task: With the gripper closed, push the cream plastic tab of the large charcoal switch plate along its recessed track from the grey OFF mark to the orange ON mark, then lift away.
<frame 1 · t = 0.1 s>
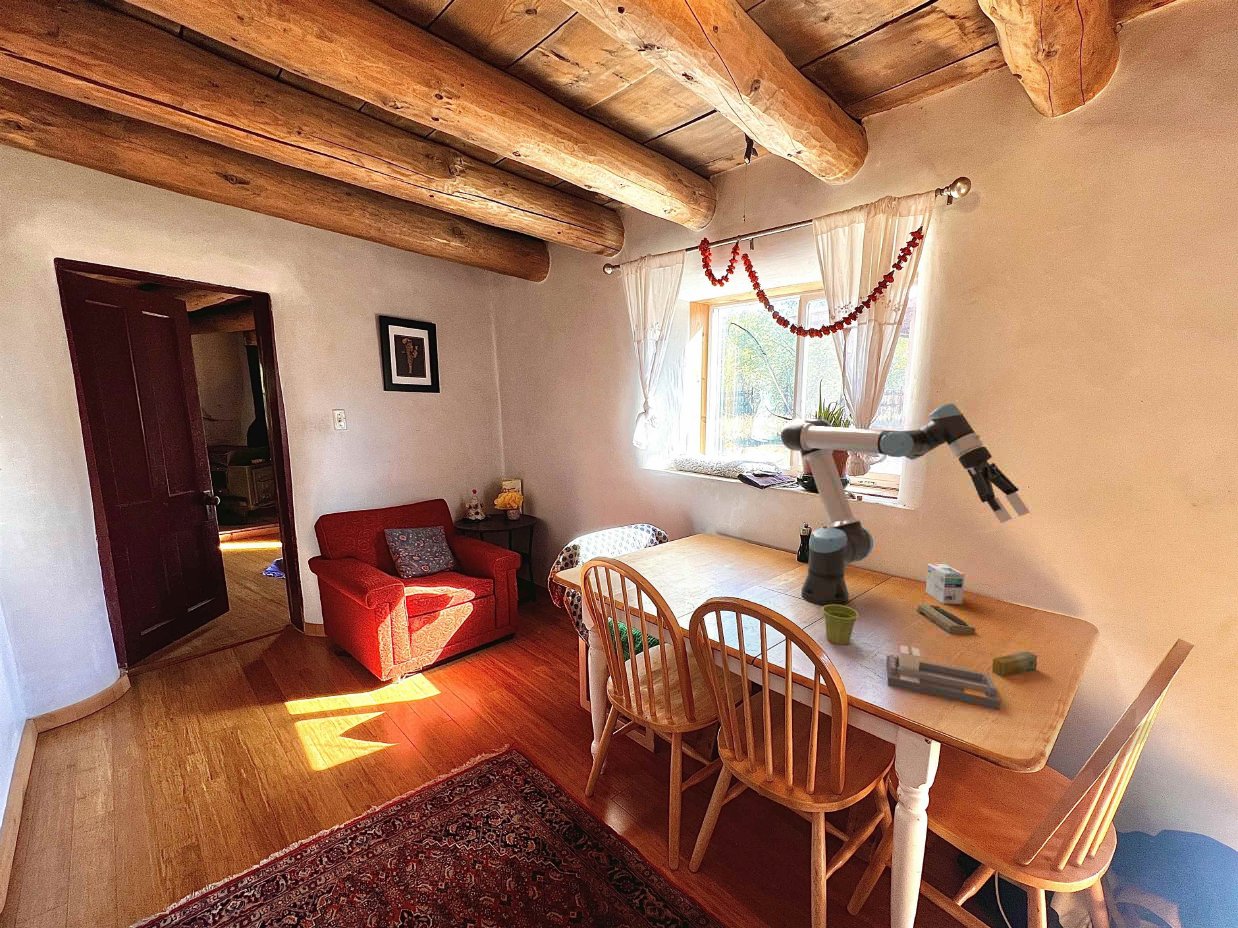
hand: (1016, 517, 142), 36 cm above the table, tool tilted 35°, fingers open, 13 cm apart
switch plate: (938, 684, 124), on the table
plant pot: (838, 640, 146), on the table
computer: (944, 623, 159), on the table
switch tab: (909, 659, 126), point 5 cm above the table, slide at 0.0 cm
medication box: (1013, 672, 130), on the table
light bulb box: (943, 598, 178), on the table
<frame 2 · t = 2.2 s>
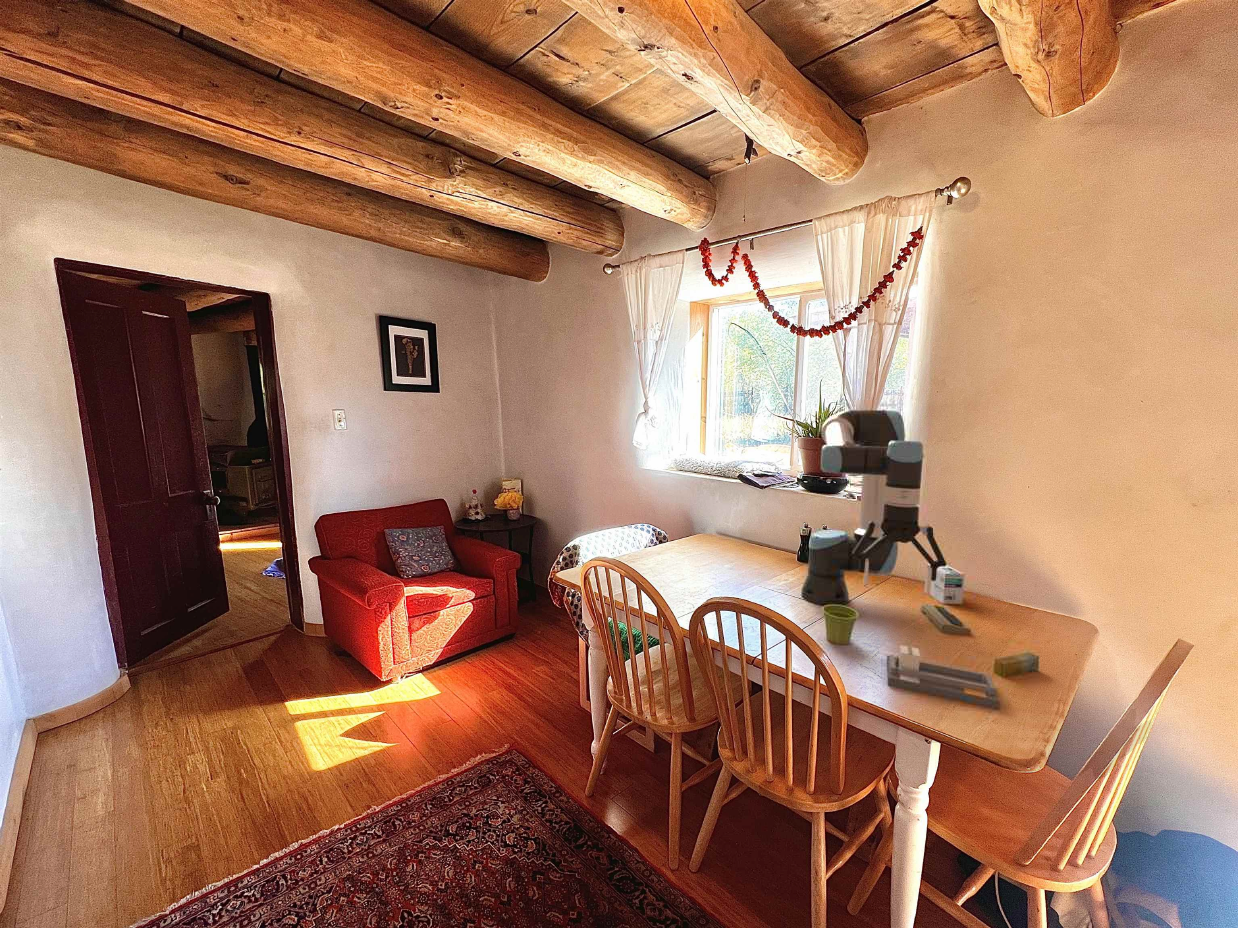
hand: (895, 589, 127), 22 cm above the table, tool pointing down, fingers open, 13 cm apart
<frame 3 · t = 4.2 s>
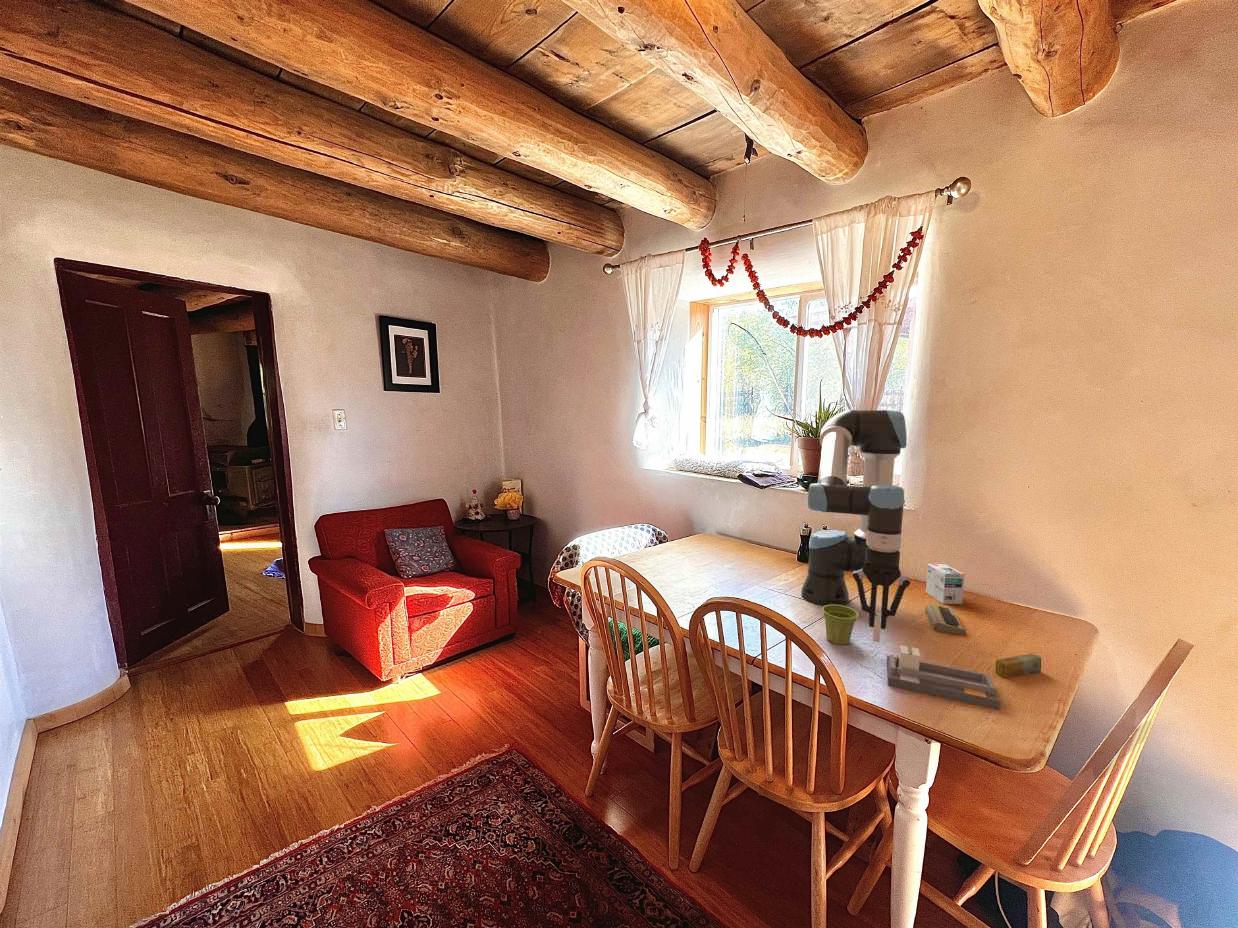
hand: (876, 639, 129), 8 cm above the table, tool pointing down, fingers closed
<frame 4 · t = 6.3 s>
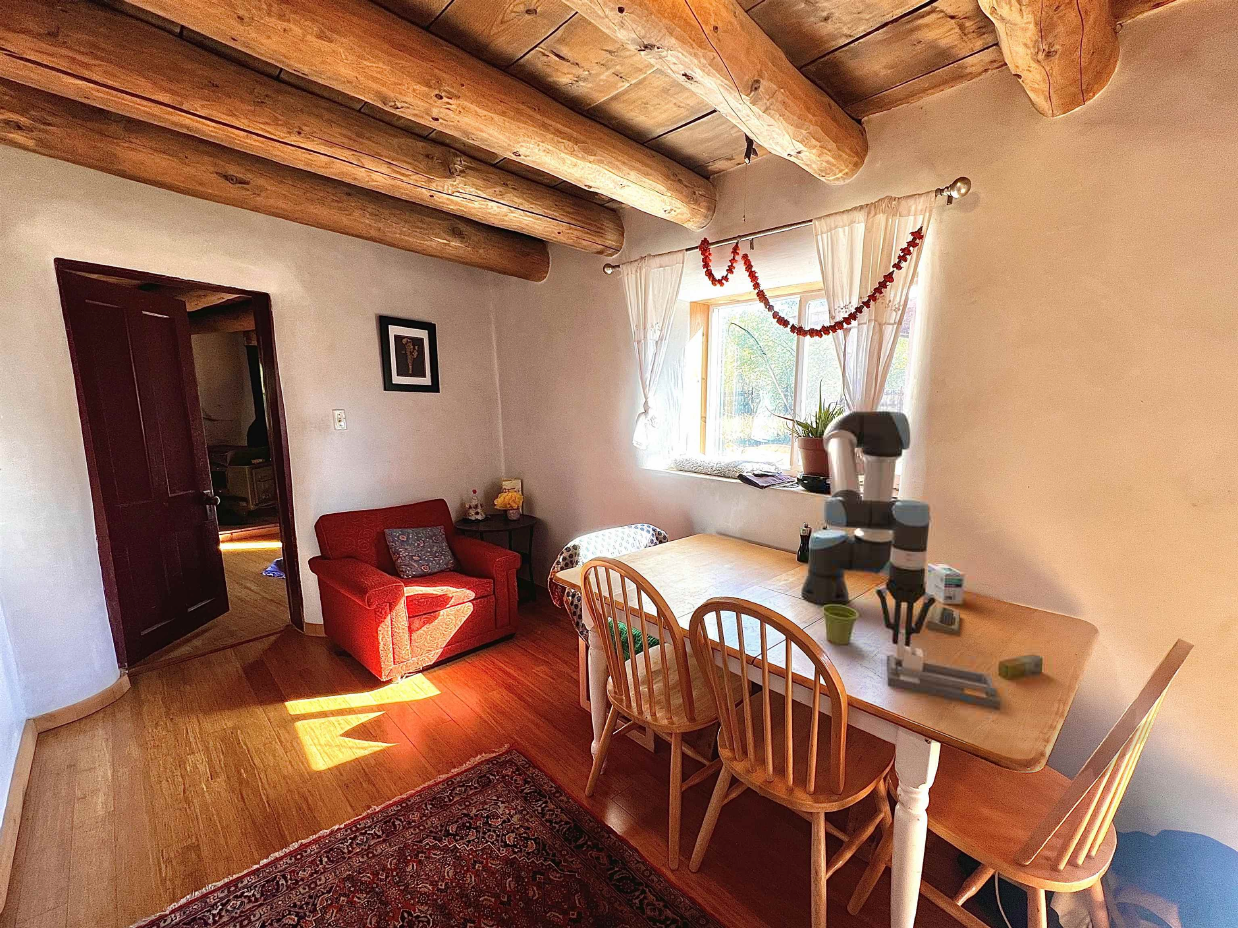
hand: (899, 656, 127), 5 cm above the table, tool pointing down, fingers closed
switch tab: (912, 659, 126), point 5 cm above the table, slide at 0.7 cm, touching gripper
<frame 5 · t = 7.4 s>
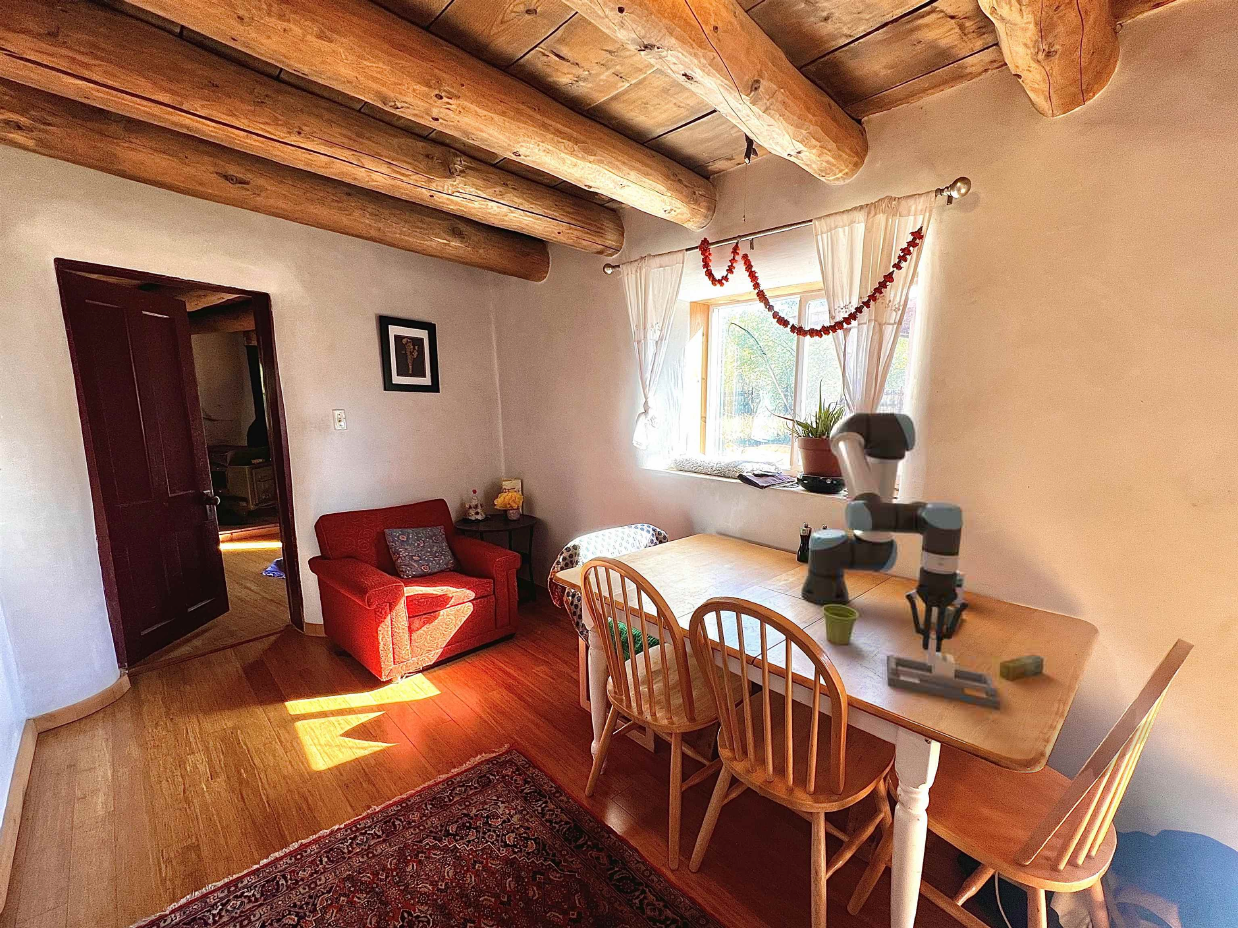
hand: (930, 662, 124), 5 cm above the table, tool pointing down, fingers closed
switch tab: (943, 665, 123), point 5 cm above the table, slide at 7.2 cm, touching gripper
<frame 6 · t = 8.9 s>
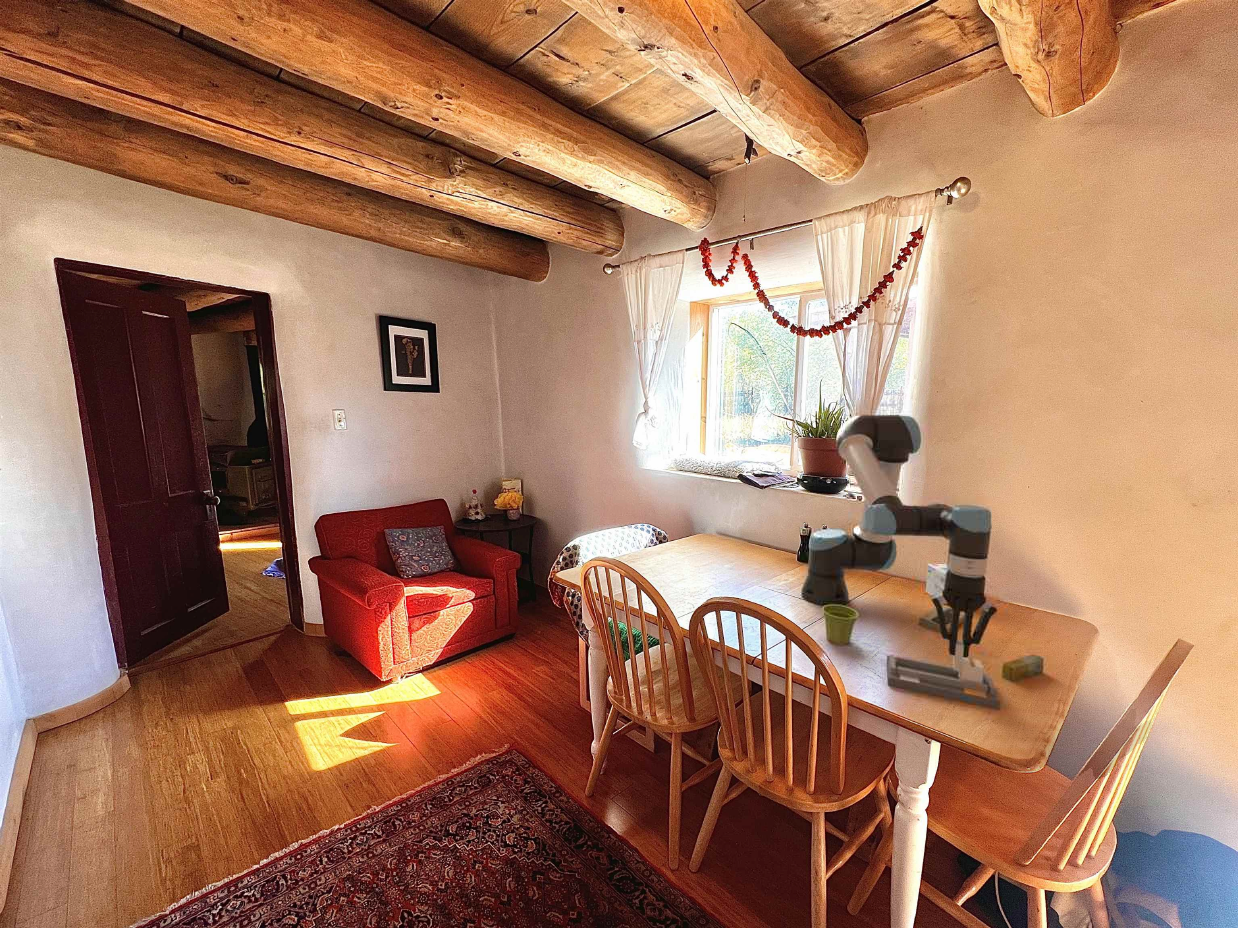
hand: (956, 668, 122), 5 cm above the table, tool pointing down, fingers closed
switch tab: (970, 671, 121), point 5 cm above the table, slide at 12.6 cm, touching gripper
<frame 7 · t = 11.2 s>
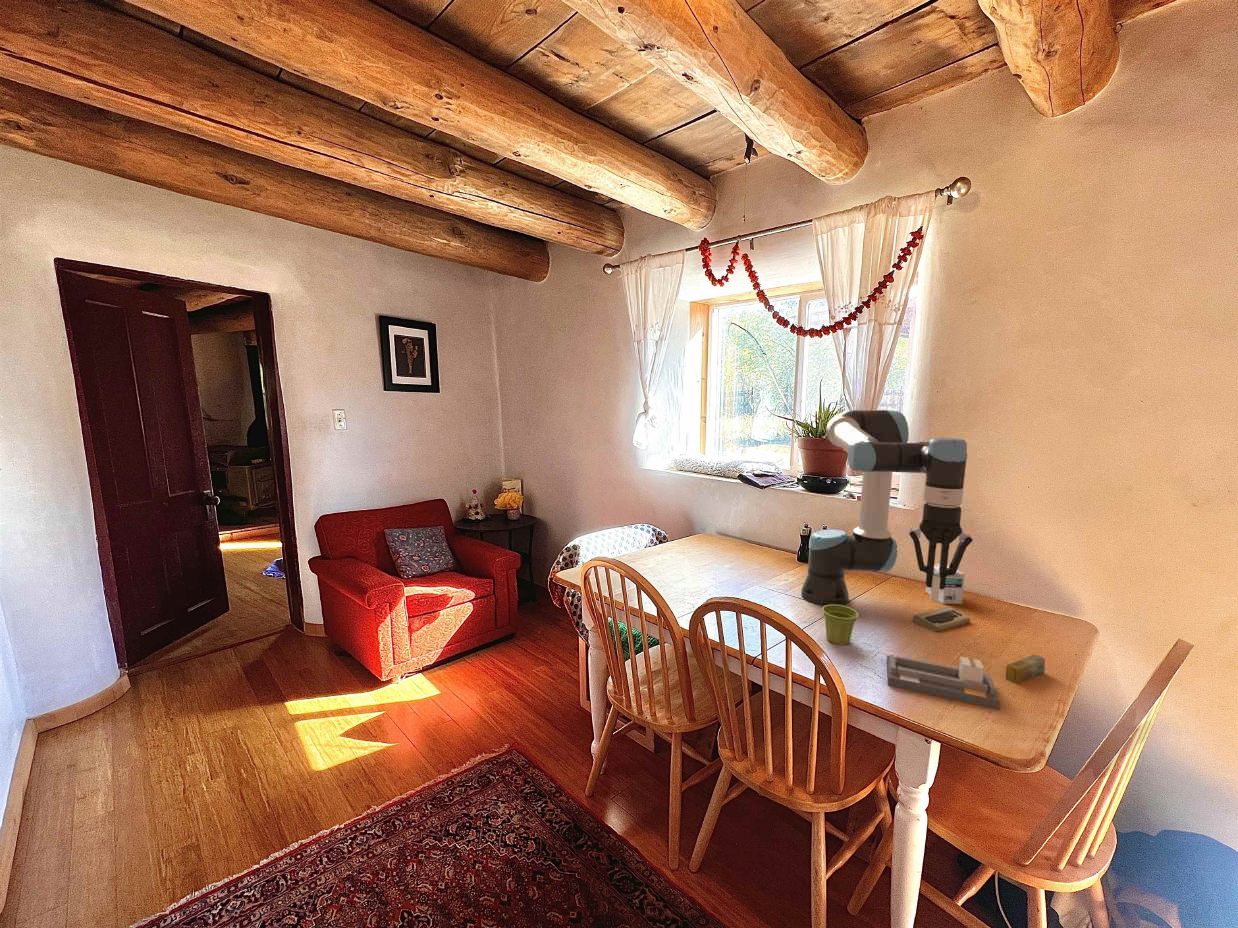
hand: (933, 600, 123), 20 cm above the table, tool pointing down, fingers closed
switch tab: (970, 671, 121), point 5 cm above the table, slide at 12.7 cm
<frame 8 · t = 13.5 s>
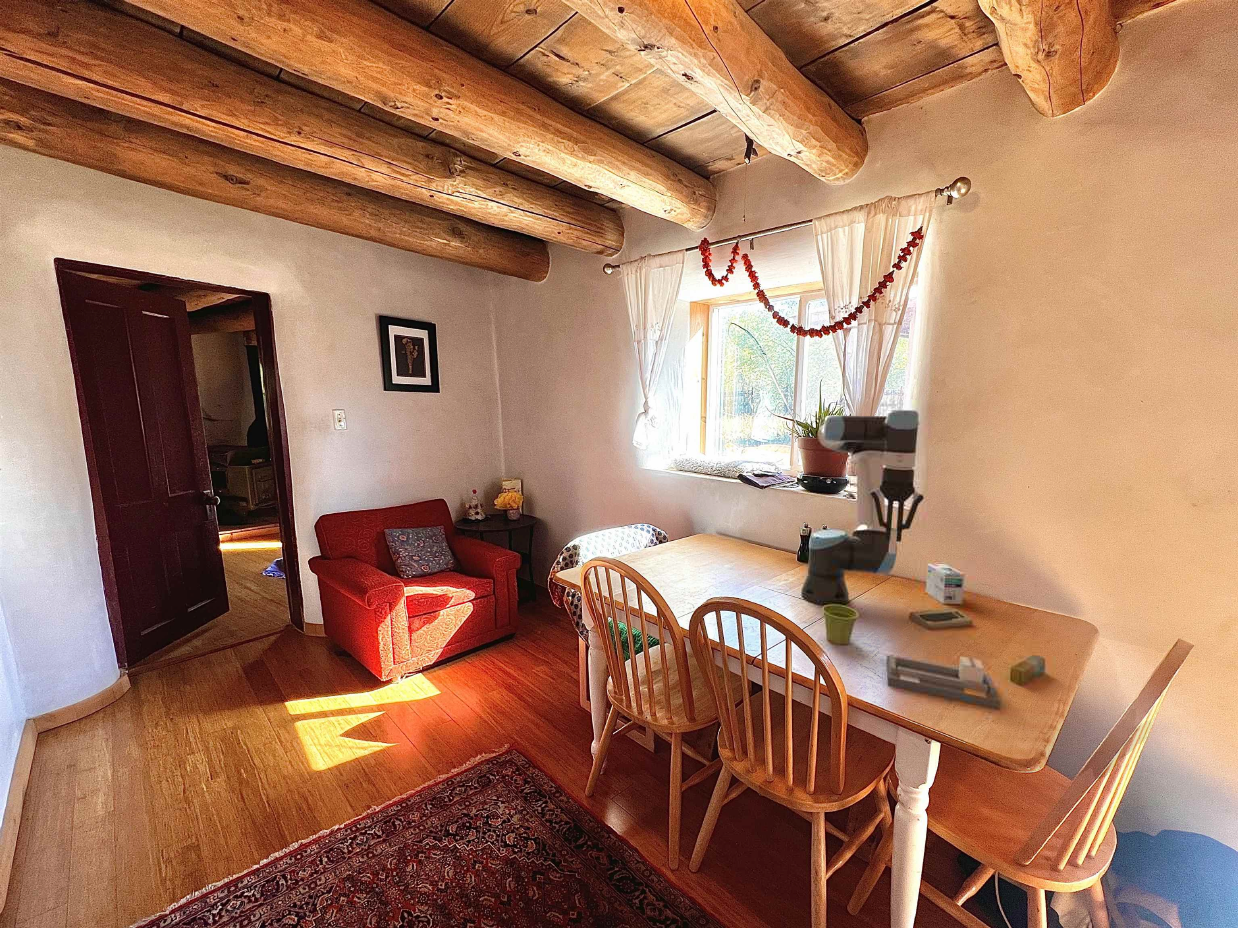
hand: (892, 552, 141), 26 cm above the table, tool pointing down, fingers closed
at the end: switch tab slide at 12.7 cm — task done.
